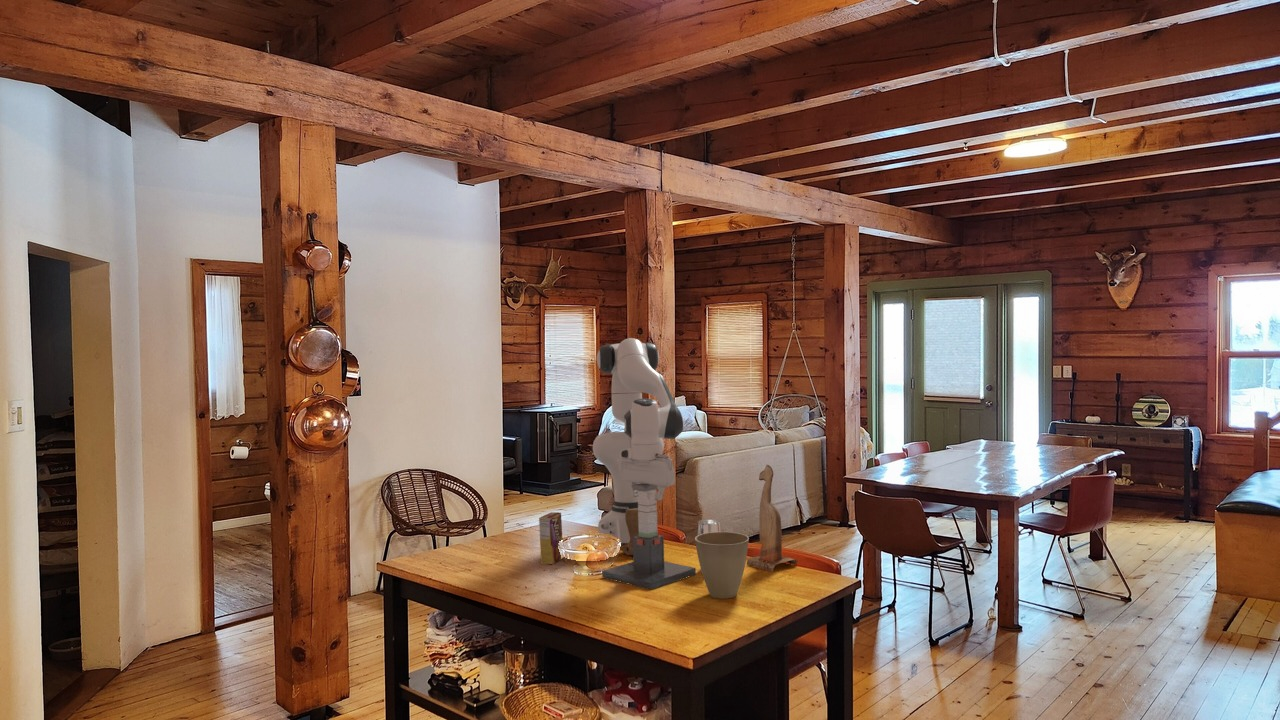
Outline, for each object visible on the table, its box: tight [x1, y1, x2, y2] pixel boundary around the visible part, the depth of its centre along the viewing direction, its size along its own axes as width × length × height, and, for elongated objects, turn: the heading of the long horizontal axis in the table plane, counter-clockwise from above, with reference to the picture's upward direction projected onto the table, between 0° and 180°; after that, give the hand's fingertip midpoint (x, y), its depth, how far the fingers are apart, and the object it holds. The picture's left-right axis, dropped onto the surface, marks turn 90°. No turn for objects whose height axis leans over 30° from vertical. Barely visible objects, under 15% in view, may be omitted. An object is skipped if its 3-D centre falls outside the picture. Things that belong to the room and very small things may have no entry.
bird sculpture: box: [746, 464, 798, 573], centre depth 257 cm, size 11×12×32 cm
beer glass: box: [697, 518, 722, 571], centre depth 254 cm, size 7×7×15 cm
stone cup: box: [620, 508, 639, 556], centre depth 279 cm, size 15×12×15 cm
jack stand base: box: [601, 534, 697, 591], centre depth 248 cm, size 20×20×12 cm
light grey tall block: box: [634, 483, 659, 539], centre depth 248 cm, size 4×7×19 cm, turn 136°
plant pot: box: [694, 531, 750, 600], centre depth 227 cm, size 15×15×16 cm
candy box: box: [538, 511, 563, 565], centre depth 269 cm, size 9×4×15 cm, turn 160°
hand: (647, 498), depth 248 cm, fingers open, 8 cm apart
